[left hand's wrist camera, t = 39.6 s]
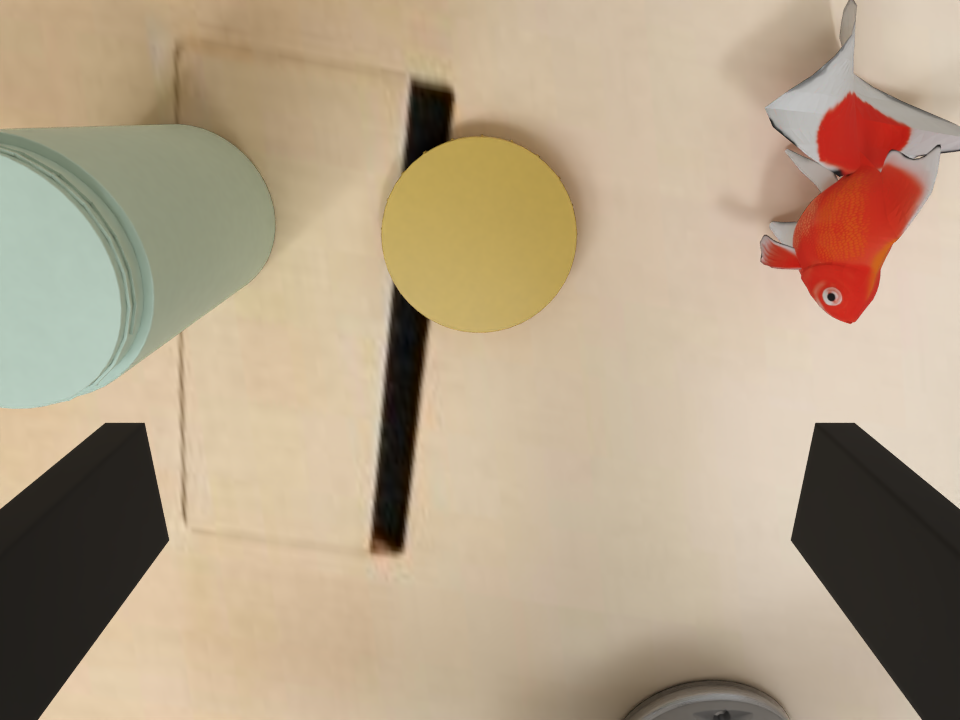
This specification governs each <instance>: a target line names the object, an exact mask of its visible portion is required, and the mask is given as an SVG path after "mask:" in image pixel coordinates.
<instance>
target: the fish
mask: <svg viewBox="0 0 960 720" xmlns="http://www.w3.org/2000/svg"><path fill="white" fill-rule="evenodd" d="M856 10H857V5H856V3H855V1H854V0H849V1H848V3H847V5H846V6H845V8H844V11H843V16H842V22H841V30H840V41H841V45H842V48H841V49H840V50H839V51H838V53H837V54H836V55H835V56H834V57H833V58H832V59H831V60H829V61H828V62H827V63H826V64H825V65H824V66H823V67H821V68H820V69H819V70H818V71H817V72H816V73H815V74H813V75H812V76H811V77H809V78H808V79H806V80H804V81H803V82H801V83H800V84H798V85H797V86H795V87H793V88H792V89H790V90H789V91H787V92H786V93H784V94H783V95H782V96H780V97H779V98H777V99H776V100H775V101H773V102H772V103H770V104H769V105H768V106H766V107H765V109H766V112H767V114H768V116H769V119H770V121H771V123H772V126H773V127H774V128H775V129H776V130H777V131H779V132H780V133H781V134H782V135H783V136H785V137H786V138H787V139H788V140H789V141H791V142H792V143H793V144H794V145H796V146H797V147H798V148H799V149H800V150H802V151H803V152H804V153H805V154H806V155H807V156H809V157H810V158H812V159H813V160H815V161H816V162H815V161H813V160H810V159H808V158H806V157H803V156H801V155H799V154H797V153H795V152H793V151H791V150H789V149H786V150H785V152H786V154H787V155H788V156H789V157H790V158H791V160H792V161H793V162H794V163H795V165H796V166H797V167H798V168H799V170H800V171H801V172H802V173H803V174H804V175H805V176H806V177H808V178H809V179H810V180H811V181H812V182H813V183H814V184H815V185H816V186H817V187H818V189H819V190H820V194H819V195H818V196H817V197H816V198H815V199H814V200H813V201H812V202H811V203H810V204H809V205H808V207H807V208H806V209H805V211H804V212H803V214H802V215H801V217H800V219H799V220H798V222H771V223H770V229H771V231H772V232H773V233H774V235H775V236H776V237H777V238H778V239H779V240H780V242H781V243H779V242H776V241H775V240H773V239H772V238H770V237H769V236H767V235H764V236H763V238H762V240H761V242H760V246H761V262H762V263H763V264H764V265H768V266H770V267H772V268H777V269H799V271H800V274H801V279H802V281H803V282H804V284H805V285H806V287H807V289H808V291H809V293H810V295H811V296H812V297H813V298H814V300H815V301H816V302H817V303H818V305H819V306H820V307H821V308H822V309H823V310H824V311H825V312H826V313H827V314H829V315H830V316H832V317H834V318H836V319H838V320H840V321H843V322H846V323H849V324H851V323H852V322H855V321H856V320H857V319H858V318H859V317H860V315H861V314H862V313H863V311H864V310H865V309H866V307H867V306H868V305H869V304H870V303H871V301H872V300H873V299H874V296H875V294H876V292H877V289H878V286H879V281H880V270H881V267H882V265H883V263H884V261H885V259H886V257H887V255H888V253H889V251H890V249H891V247H892V245H893V243H894V242H896V241H897V240H898V239H899V237H900V236H901V235H902V234H903V233H904V231H905V230H906V229H907V228H908V226H909V225H910V224H911V222H912V221H913V219H914V218H915V217H916V215H917V214H918V213H919V211H920V210H921V208H922V207H923V205H924V204H925V202H926V201H927V199H928V197H929V196H930V194H931V193H932V190H933V186H934V183H935V179H936V176H937V172H938V166H939V159H940V153H948V152H956V151H960V126H958V125H956V124H954V123H952V122H949V121H947V120H945V119H942V118H940V117H938V116H935V115H933V114H931V113H928V112H926V111H924V110H921V109H919V108H916V107H914V106H912V105H909V104H907V103H905V102H902V101H900V100H898V99H896V98H894V97H892V96H890V95H888V94H886V93H884V92H882V91H880V90H878V89H876V88H874V87H872V86H871V85H869V84H868V83H866V82H865V81H864V80H862V79H861V78H859V77H858V76H856V75H855V74H854V46H855V20H856ZM924 155H925V156H924ZM918 156H923V157H921V158H918V159H914V158H916V157H918ZM835 174H836V175H838V176H839V177H840V176H843V177H842V178H841V179H839V180H837V177H836V175H835Z"/></svg>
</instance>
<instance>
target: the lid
mask: <svg viewBox="0 0 960 720" xmlns="http://www.w3.org/2000/svg"><path fill="white" fill-rule="evenodd" d="M539 157H540V156H539V155H538V154H536V155H535V154H534V153H532V152H530V151H529V150H527V149H526V148H524V147H522V146H520V145H518V144H516V143H513V141H512V140H510V141H508V140H504V139H501V138H496V137H489V136H483V134H481V136H470V137H463V138H458V139H453V138H452V139H451V141H447V142H445V143H443V144H440V145H438V146H436V147H434V148H433V149H431V150H429V151H428V152H427V151H425V152H423V155H422V156H421V157H419V158H418V159H417V160H416V161H415V162H413V163H412V164H411V165H410V166H409V167H408V168H407V170H406V171H404V172H402V173H401V174H402V175H401V177H400V178H399V180H398V181H397V183H396V184H395V186H394V188H393V190H392V192H391V194H390V196H389V198H388V199H387V204H386V207H385V211H384V216H383V220H382V228H381V230H382V233H381V235H382V248H383V254H384V259H385V262H386V265H387V268H388V271H389V273H390V276H391V278H392V280H393V282H394V284H395V285H396V287H397V288H398V290H399V291H400V293H401V294H402V295H403V296H404V298H405V299H406V300H407V301H408V302H409V303H410V304H411V305H412V306H413V307H414V308H415V309H416V310H417V311H419V312H420V313H421V314H423V315H424V316H425V317H427V318H429V319H430V320H432V321H434V322H436V323H438V324H440V325H443V326H445V327H448V328H451V329H455V330H459V331H465V332H473V333H486V332H494V331H499V330H503V329H507V328H510V327H513V326H516V325H518V324H521V323H522V322H524V321H526V320H528V319H530V318H531V317H533V316H534V315H536V314H537V313H538V312H540V311H541V310H542V309H543V308H544V307H545V306H547V305H548V304H549V303H550V302H551V300H552V299H553V298H554V297H555V296H556V294H557V293H558V292H559V290H560V289H561V287H562V286H563V284H564V282H565V280H566V278H567V276H568V274H569V272H570V269H571V266H572V263H573V260H574V255H575V250H576V240H577V229H576V219H575V214H574V210H573V204H572V203H571V201H570V198H569V195H568V193H567V191H566V189H565V188H564V186H563V184H562V182H561V181H560V177H559V176H557V175H556V174H555V173H554V171H553V170H552V169H551V168H550V167H549V166H548V165H547V164H546V163H545V162H544V161H542V160H541V159H540V158H539Z"/></svg>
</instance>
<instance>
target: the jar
mask: <svg viewBox="0 0 960 720" xmlns="http://www.w3.org/2000/svg"><path fill="white" fill-rule="evenodd" d="M274 236H275V214H274V207H273V204H272V200H271V196H270V194H269V191H268V189H267V186H266V184H265V182H264V180H263V179H262V177H261V175H260V173H259V172H258V170H257V169H256V168H255V166H254V165H253V163H252V162H251V161H250V160H249V159H248V158H247V157H246V156H245V155H244V154H243V153H242V152H241V151H240V150H239V149H238V148H237V147H235V146H234V145H233V144H231V143H230V142H228V141H227V140H226V139H224V138H222V137H220V136H218V135H217V134H215V133H213V132H210V131H207V130H205V129H202V128H198V127H194V126H190V125H182V124H162V125H127V126H92V127H57V128H22V129H0V407H1V408H12V409H19V408H35V407H42V406H47V405H51V404H55V403H59V402H64V401H69V400H71V399H73V398H75V397H77V396H80V395H84V394H87V393H90V392H93V391H95V390H97V389H100V388H102V387H104V386H106V385H107V384H109V383H111V382H112V381H114V380H115V379H117V378H118V377H120V376H121V375H122V374H124V373H125V372H126V371H128V370H129V369H131V368H132V367H133V366H135V365H136V364H138V363H139V362H140V361H142V360H143V359H144V358H146V357H147V356H149V355H150V354H151V353H153V352H154V351H155V350H157V349H158V348H160V347H161V346H162V345H164V344H165V343H167V342H168V341H169V340H171V339H172V338H173V337H175V336H176V335H178V334H179V333H180V332H182V331H183V330H184V329H186V328H187V327H189V326H190V325H191V324H193V323H194V322H196V321H197V320H198V319H200V318H201V317H202V316H204V315H205V314H207V313H208V312H209V311H211V310H212V309H213V308H215V307H216V306H218V305H219V304H220V303H222V302H223V301H225V300H226V299H227V298H229V297H230V296H231V295H233V294H234V293H236V292H237V291H238V290H240V289H241V288H242V287H244V286H245V285H247V284H248V283H249V282H250V281H251V280H252V279H254V278H255V277H256V276H257V274H258V273H259V272H260V271H261V270H262V268H263V266H264V265H265V263H266V261H267V260H268V257H269V255H270V253H271V250H272V246H273V242H274Z"/></svg>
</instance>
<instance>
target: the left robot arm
mask: <svg viewBox="0 0 960 720" xmlns="http://www.w3.org/2000/svg"><path fill="white" fill-rule="evenodd" d="M168 541H169V537H168V532H167V527H166V523H165V518H164V513H163V508H162V504H161V499H160V494H159V489H158V485H157V480H156V475H155V470H154V465H153V461H152V456H151V451H150V446H149V442H148V437H147V432H146V427H145V423H105V424H104V425H102V426H101V427H100V428H99V429H97V430H96V431H95V432H94V433H93V434H91V435H90V436H89V437H88V438H86V439H85V440H84V441H83V442H82V443H80V444H79V445H78V446H77V447H76V448H74V449H73V450H72V451H71V452H69V453H68V454H67V455H66V456H65V457H63V458H62V459H61V460H60V461H58V462H57V463H56V464H55V465H54V466H52V467H51V468H50V469H49V470H47V471H46V472H45V473H44V474H43V475H41V476H40V477H39V478H38V479H37V480H35V481H34V482H33V483H32V484H30V485H29V486H28V487H27V488H26V489H24V490H23V491H22V492H21V493H19V494H18V495H17V496H16V497H15V498H13V499H12V500H11V501H10V502H9V503H7V504H6V505H5V506H4V507H2V508H1V509H0V720H38V719H39V717H40V716H41V715H42V713H43V712H44V711H45V709H46V708H47V707H48V705H49V704H50V702H51V701H52V700H53V698H54V697H55V696H56V694H57V693H58V692H59V690H60V689H61V687H62V686H63V685H64V683H65V682H66V681H67V679H68V678H69V676H70V675H71V674H72V672H73V671H74V670H75V668H76V667H77V666H78V664H79V663H80V661H81V660H82V659H83V657H84V656H85V655H86V653H87V652H88V651H89V649H90V648H91V646H92V645H93V644H94V642H95V641H96V640H97V638H98V637H99V635H100V634H101V633H102V631H103V630H104V629H105V627H106V626H107V625H108V623H109V622H110V620H111V619H112V618H113V616H114V615H115V614H116V612H117V611H118V610H119V608H120V607H121V605H122V604H123V603H124V601H125V600H126V599H127V597H128V596H129V594H130V593H131V592H132V590H133V589H134V588H135V586H136V585H137V584H138V582H139V581H140V579H141V578H142V577H143V575H144V574H145V573H146V571H147V570H148V569H149V567H150V566H151V564H152V563H153V562H154V560H155V559H156V558H157V556H158V555H159V553H160V552H161V551H162V549H163V548H164V547H165V545H166V544H167V543H168ZM791 541H792V543H793V544H794V545H795V547H796V548H797V549H798V551H799V552H800V553H801V555H802V556H803V558H804V559H805V560H806V562H807V563H808V564H809V566H810V567H811V569H812V570H813V571H814V573H815V574H816V575H817V577H818V578H819V579H820V581H821V582H822V584H823V585H824V586H825V588H826V589H827V590H828V592H829V593H830V594H831V596H832V597H833V599H834V600H835V601H836V603H837V604H838V605H839V607H840V608H841V610H842V611H843V612H844V614H845V615H846V616H847V618H848V619H849V620H850V622H851V623H852V625H853V626H854V627H855V629H856V630H857V631H858V633H859V634H860V635H861V637H862V638H863V640H864V641H865V642H866V644H867V645H868V646H869V648H870V649H871V651H872V652H873V653H874V655H875V656H876V657H877V659H878V660H879V661H880V663H881V664H882V666H883V667H884V668H885V670H886V671H887V672H888V674H889V675H890V676H891V678H892V679H893V681H894V682H895V683H896V685H897V686H898V687H899V689H900V690H901V692H902V693H903V694H904V696H905V697H906V698H907V700H908V701H909V702H910V704H911V705H912V707H913V708H914V709H915V711H916V712H917V713H918V715H919V716H920V717H921V719H922V720H960V509H959V508H958V507H956V506H955V505H954V504H953V503H951V502H950V501H949V500H948V499H947V498H945V497H944V496H943V495H942V494H941V493H939V492H938V491H937V490H936V489H934V488H933V487H932V486H931V485H930V484H928V483H927V482H926V481H925V480H923V479H922V478H921V477H920V476H919V475H917V474H916V473H915V472H914V471H913V470H911V469H910V468H909V467H908V466H906V465H905V464H904V463H903V462H902V461H900V460H899V459H898V458H897V457H895V456H894V455H893V454H892V453H891V452H889V451H888V450H887V449H886V448H884V447H883V446H882V445H881V444H880V443H878V442H877V441H876V440H875V439H874V438H872V437H871V436H870V435H869V434H867V433H866V432H865V431H864V430H863V429H861V428H860V427H859V426H858V425H856V424H855V423H815V427H814V432H813V437H812V442H811V446H810V451H809V456H808V461H807V465H806V470H805V475H804V480H803V485H802V489H801V494H800V499H799V504H798V508H797V513H796V518H795V523H794V527H793V532H792V537H791ZM624 720H790V719H789V717H788V715H787V713H786V712H785V710H784V709H783V708H782V707H781V706H780V705H779V704H778V703H777V702H776V701H775V700H774V699H773V698H771V697H770V696H769V695H767V694H765V693H764V692H762V691H760V690H757V689H755V688H753V687H750V686H747V685H743V684H739V683H734V682H727V681H700V682H692V683H687V684H683V685H679V686H675V687H672V688H669V689H666V690H664V691H662V692H659V693H657V694H655V695H654V696H652V697H650V698H648V699H647V700H645V701H643V702H642V703H641V704H639V705H638V706H637V707H636V708H634V709H633V710H632V711H631V712H630V713H629V714H628V715H627V716H626V717H625V719H624Z"/></svg>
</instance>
